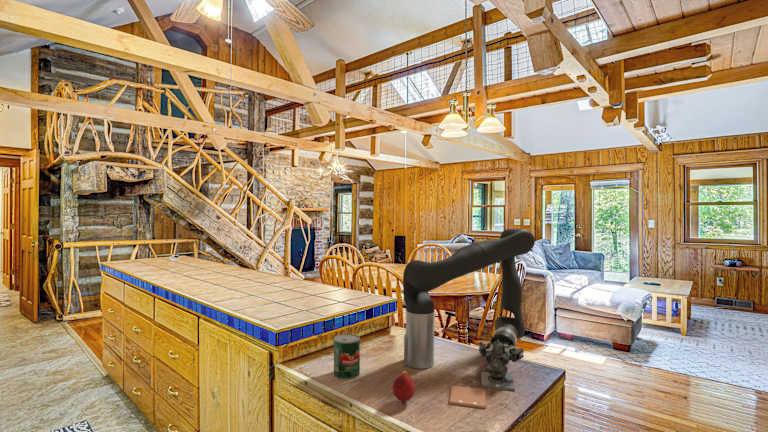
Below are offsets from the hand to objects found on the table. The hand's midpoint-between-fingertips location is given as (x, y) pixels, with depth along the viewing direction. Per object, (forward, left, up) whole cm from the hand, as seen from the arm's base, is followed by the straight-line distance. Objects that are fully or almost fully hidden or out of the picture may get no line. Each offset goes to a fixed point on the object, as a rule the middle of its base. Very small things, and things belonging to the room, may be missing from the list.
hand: (496, 360), depth 109 cm
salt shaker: (0, +3, -7) cm, 7 cm away
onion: (-24, -16, -7) cm, 30 cm away
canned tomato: (-44, -4, -7) cm, 44 cm away
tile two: (-8, -9, -7) cm, 14 cm away
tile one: (0, +3, -7) cm, 8 cm away
